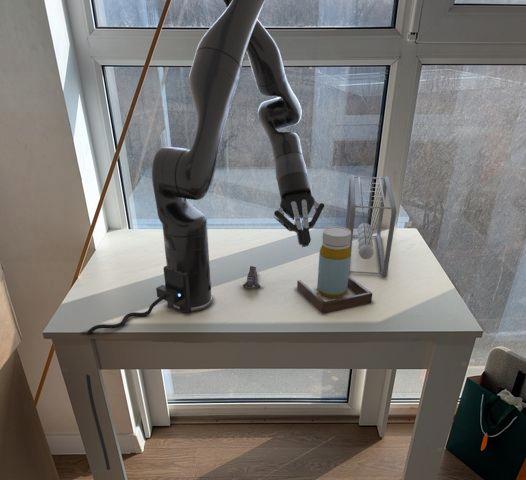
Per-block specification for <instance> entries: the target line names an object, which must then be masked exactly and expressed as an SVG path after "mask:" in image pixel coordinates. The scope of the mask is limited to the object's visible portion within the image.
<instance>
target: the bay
mask: <svg viewBox="0 0 526 480" xmlns="http://www.w3.org/2000/svg"><path fill="white" fill-rule="evenodd" d="M296 283H297V284H296V285H297V286H296V290H297V291H298V292H299V293H300V294H301V295H302V296H303V297H304V298H305V299H306V300H307V301H309V303H310V304H312V305H313V306H314V307H315V308H316V309H317V310H318V311H319V312H320V313H322V314H327V313H333V312H337V311H341V310H346V309H350V308H355V307H360V306H364V305H368V304H372V302H373V301H372V300H373V292H372V291H370V289H368V288H367V287H365V286H364V285H362V284H361V283H359V282H358V281H357V280H356V279H355V278H353V277H351V275H349V277H348V286H347V289H349V290H351V291H352V292H353V293H354V294H355V295H350V296H346V297H339V298H335V299H332V300H331V299H330V300H327V301H325V300H324V299H323V298H322V297H320V296H319V295H318V294H317V293H316V292H315V291H314V290H313V289H312V288H310V287H309V286H308V285H307V284H306V283H305V282H304V281H302V279H297V282H296Z"/></svg>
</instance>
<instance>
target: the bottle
mask: <svg viewBox="0 0 526 480" xmlns="http://www.w3.org/2000/svg"><path fill="white" fill-rule="evenodd" d="M350 241H351V231H350V230H349V229H347V228H345V226H337V225H336V226H335V225H334V226H327V227H325V228H324V229H323V231H322V242H321V247H320V248H319V257H318V270H317V285H316V288H317V289H316V290H317V293H319V294H320V295H321V296H322V297H324V298H328V299H340V298H343V296H345V294H347V292H348V287H347V286H348V277H349V276H350V272H349V271H350V267H351V257H352V248H351V249H350Z"/></svg>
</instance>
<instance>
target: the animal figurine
mask: <svg viewBox="0 0 526 480" xmlns="http://www.w3.org/2000/svg"><path fill="white" fill-rule="evenodd" d="M246 276H247V278H246V281H245V282H244V283H243V285H242V287H243V288H246V289H254V288H257V289H260V288H261V287H262V286H261V284H260V283H259V281H258V271H257V266H254V265H252V266H251V265H250V266H249V271H248V273H247V275H246Z"/></svg>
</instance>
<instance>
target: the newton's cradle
mask: <svg viewBox="0 0 526 480" xmlns="http://www.w3.org/2000/svg"><path fill="white" fill-rule="evenodd" d="M355 179H358V194H359V205H356V185H355ZM361 179H369V180H370V179H371V180H378V181H379V182H378V183H377V182H373V184H375V185H376V184H377V185H378V186H377V187H376V186H375V187H374V186H371V188H374V189H376V191H373V190H364V192H365V193H366V192H367V193H368V192H369V193H372V192H373V193H375V194H374V198H373V200H372V204H371V205H364V202H369V200H365V199H364V200H363V199H362V197H363V190H362V188H363V187H361ZM382 180H383V182H382ZM348 182H349V183H348V194H347V203H346V213H345V224H344V228H347V229H349V230H350V231H351V241H350V249H351V250H352V248H353V237H357V242H358V256H359V257H360V258H361V259H363V260H369V259H371V258H372V257H373V256H374V253H375V252H374V243H373V238H376V242H377V249H378V257H379V264H380V272H375V271H359V270H349V274H351V273H353V274H366V275H367V274H368V275H381V276H382V277H387V274H388V271H389V265H390V257H391V252H392V244H393V238H394V231H395V225H396V218H397V205H396V201H395V197H394V194H393V189H392V184H391V182H390V177H389V176H387V175H386V176H384V177H375V176H355V175H354V174H351V175H350V176H349V181H348ZM386 196H388V201H389V205H390V206H387V204H386ZM356 208H359V209H360V208H361V209H370V211H369V213H368V217H367V220H366V222H365V216H364V215H365V214H364V213H365V212H362V218H363V222H362V223H361V224H359V225H358V227H357V234H354V227H355V221H356V219H355V218H356V210H357V209H356ZM385 210H390V220H389V228H388V233H387V240H386V246H385V253H384V249H383V242H382V236H381V234H382V224H383V218H384V211H385ZM377 213H378V214H377ZM374 222H375V223H374ZM373 225H374V226H373ZM376 225H377V227H376ZM375 227H376V235H373V233H374V230H375Z"/></svg>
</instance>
